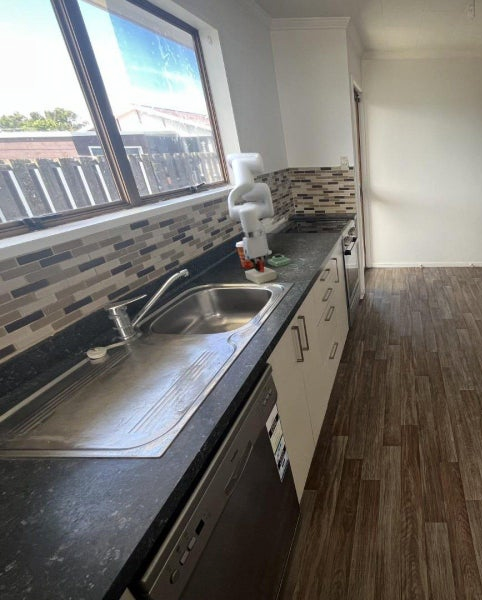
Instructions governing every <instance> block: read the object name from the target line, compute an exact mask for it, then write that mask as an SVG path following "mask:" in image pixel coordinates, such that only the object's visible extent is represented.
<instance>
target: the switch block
mask: <svg viewBox="0 0 482 600" xmlns="http://www.w3.org/2000/svg"><path fill="white" fill-rule="evenodd" d="M281 256H282V257H280V258H275V255H274V256H272V258H270V259H267V260H266V262H267V264H268V265H271V266H273V267H276V268H278V267H282V266H285V265H289V264H291V263H292V260H291V259H290V258H287V257H285V255H283V254H281Z"/></svg>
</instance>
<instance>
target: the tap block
mask: <svg viewBox="0 0 482 600" xmlns="http://www.w3.org/2000/svg"><path fill="white" fill-rule="evenodd" d="M244 274H245V278H246V279H247V280H248V281H251V282H253V283H255V284H258V285H260V284H263V283H266V282H267V283H268V282H270V281H272V280H276V279H278V278H277V271H276V270H274V269H271V268H270V267H266V266H264V272H259V271H256V270H255V268H252V269H249V270H245V271H244Z"/></svg>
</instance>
